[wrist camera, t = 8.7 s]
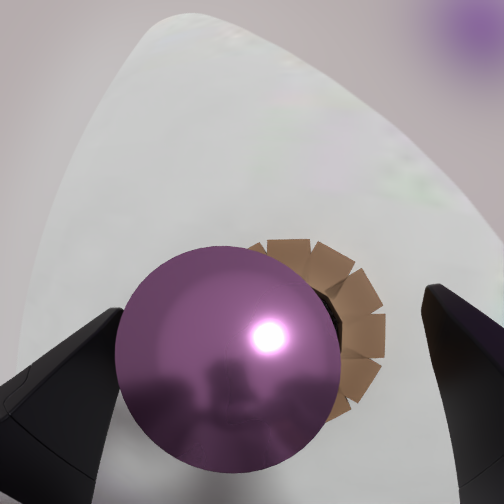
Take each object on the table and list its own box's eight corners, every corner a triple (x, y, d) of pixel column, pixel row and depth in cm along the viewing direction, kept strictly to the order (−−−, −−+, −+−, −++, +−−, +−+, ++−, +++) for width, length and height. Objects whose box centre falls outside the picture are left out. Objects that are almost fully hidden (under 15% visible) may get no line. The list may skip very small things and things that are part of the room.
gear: (399, 362, 14) (416, 368, 12) (257, 436, 15) (245, 456, 12) (321, 225, 17) (322, 206, 14) (187, 301, 18) (164, 296, 15)
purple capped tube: (325, 358, 15) (353, 461, 3) (267, 368, 16) (135, 465, 4) (315, 301, 16) (315, 224, 4) (258, 312, 17) (106, 269, 4)
